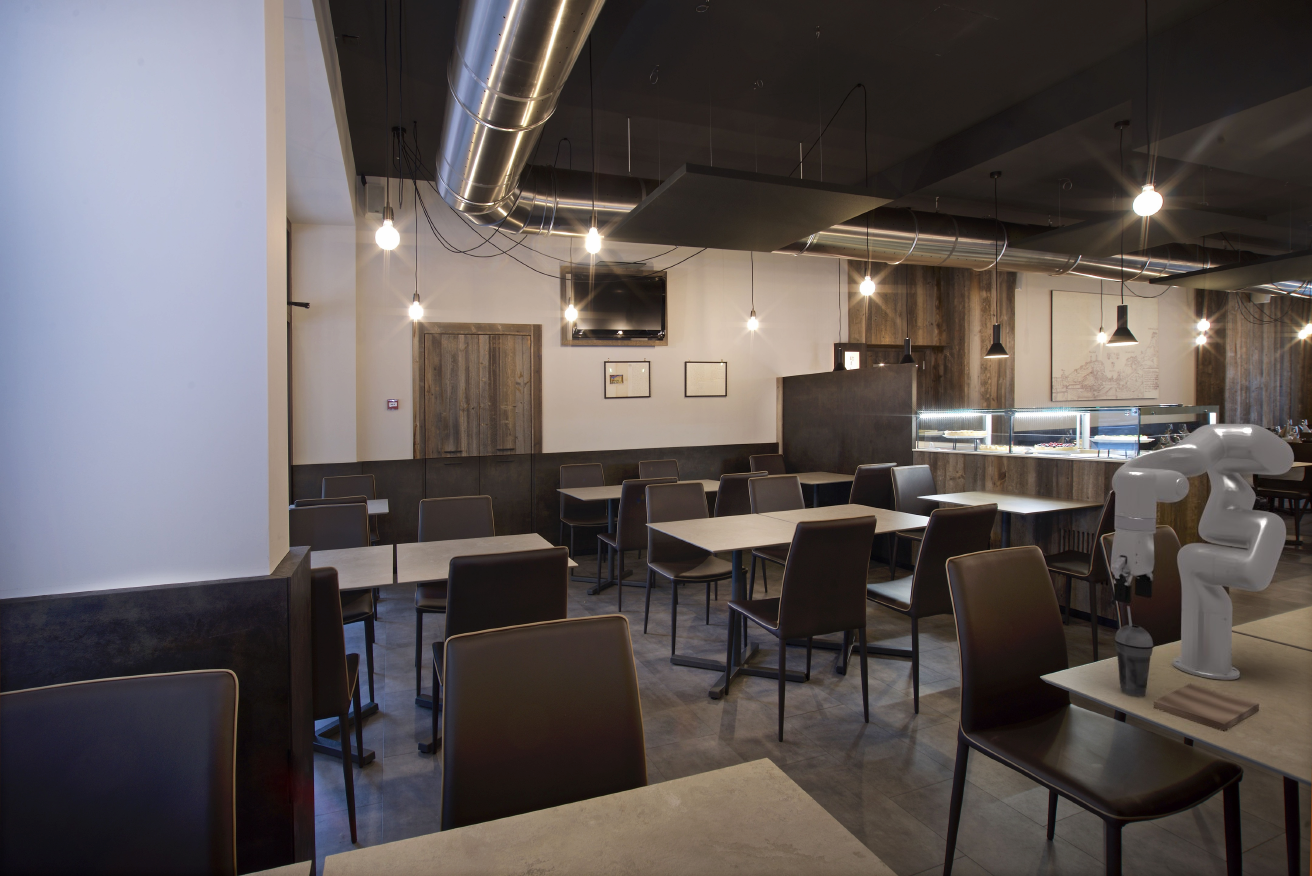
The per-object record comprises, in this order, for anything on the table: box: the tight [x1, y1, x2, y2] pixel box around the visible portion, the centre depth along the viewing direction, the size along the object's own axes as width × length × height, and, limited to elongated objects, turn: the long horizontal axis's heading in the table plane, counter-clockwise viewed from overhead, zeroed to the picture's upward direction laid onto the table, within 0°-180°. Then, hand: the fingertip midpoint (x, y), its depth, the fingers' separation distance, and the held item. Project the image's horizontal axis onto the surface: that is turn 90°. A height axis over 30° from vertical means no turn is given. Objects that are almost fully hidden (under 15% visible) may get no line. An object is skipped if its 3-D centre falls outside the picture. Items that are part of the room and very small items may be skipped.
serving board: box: [1153, 683, 1260, 732], centre depth 137 cm, size 18×12×2 cm, turn 120°
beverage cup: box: [1113, 605, 1155, 698], centre depth 145 cm, size 7×7×20 cm
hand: (1133, 599), depth 144 cm, fingers open, 9 cm apart
